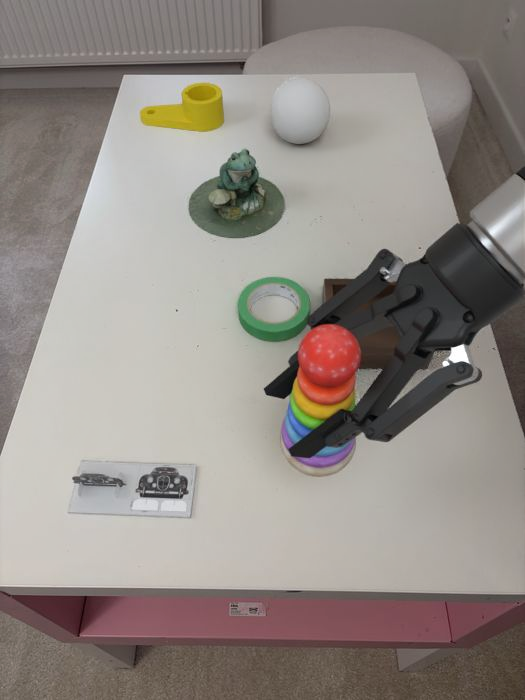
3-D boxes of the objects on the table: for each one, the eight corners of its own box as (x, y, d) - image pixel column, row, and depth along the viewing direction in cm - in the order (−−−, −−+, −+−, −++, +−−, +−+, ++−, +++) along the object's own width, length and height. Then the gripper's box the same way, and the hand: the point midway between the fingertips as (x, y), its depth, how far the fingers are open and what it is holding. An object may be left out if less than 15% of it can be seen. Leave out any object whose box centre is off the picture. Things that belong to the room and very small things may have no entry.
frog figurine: (214, 250, 89) (207, 195, 80) (173, 192, 99) (163, 136, 89) (302, 217, 94) (306, 161, 85) (256, 164, 103) (254, 108, 94)
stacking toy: (367, 433, 56) (405, 329, 40) (330, 494, 52) (356, 405, 36) (304, 398, 58) (317, 287, 43) (265, 453, 55) (263, 354, 39)
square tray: (426, 369, 75) (433, 355, 72) (327, 368, 75) (329, 354, 72) (412, 294, 83) (417, 278, 80) (322, 293, 84) (324, 278, 81)
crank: (225, 109, 115) (223, 83, 110) (222, 131, 110) (220, 104, 105) (145, 108, 115) (139, 81, 110) (138, 130, 111) (132, 103, 106)
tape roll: (229, 298, 83) (227, 287, 81) (292, 279, 85) (293, 268, 83) (253, 351, 77) (252, 340, 75) (320, 329, 79) (322, 318, 77)
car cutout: (68, 513, 63) (56, 501, 60) (81, 462, 67) (71, 447, 64) (190, 518, 63) (185, 506, 59) (196, 466, 67) (192, 451, 63)
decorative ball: (303, 116, 113) (306, 59, 103) (339, 142, 107) (346, 85, 98) (258, 135, 109) (257, 78, 99) (293, 163, 103) (295, 105, 94)
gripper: (596, 363, 36) (350, 516, 46) (451, 197, 46) (277, 353, 57) (568, 339, 31) (298, 518, 41) (411, 158, 41) (227, 337, 51)
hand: (286, 422), depth 49 cm, fingers closed on stacking toy, 6 cm apart
